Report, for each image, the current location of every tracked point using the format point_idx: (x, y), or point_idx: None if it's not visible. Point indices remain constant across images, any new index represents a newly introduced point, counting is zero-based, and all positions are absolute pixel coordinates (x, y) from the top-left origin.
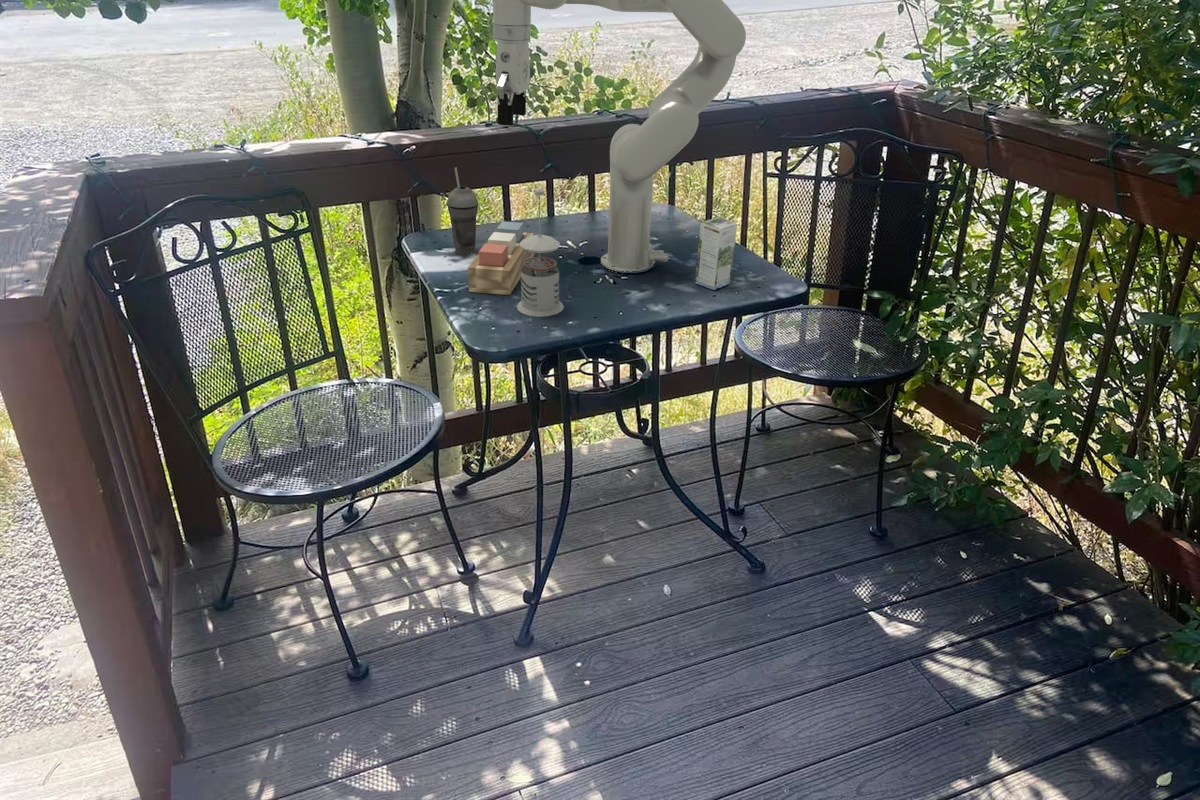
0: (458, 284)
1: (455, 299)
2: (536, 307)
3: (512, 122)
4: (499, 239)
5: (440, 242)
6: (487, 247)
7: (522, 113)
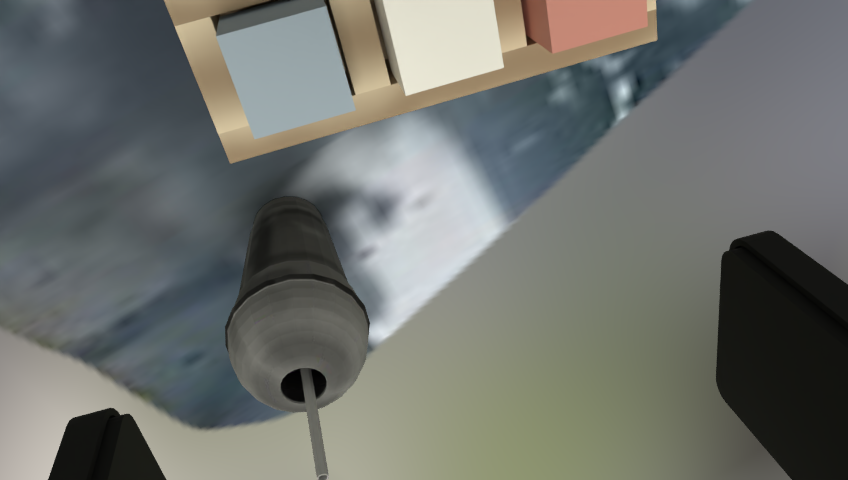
0: (566, 84)
1: (681, 24)
2: None
3: (788, 242)
4: (485, 21)
5: None
6: (593, 18)
7: (130, 445)
